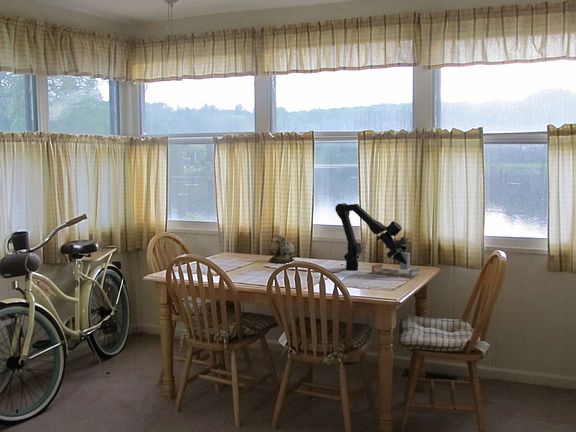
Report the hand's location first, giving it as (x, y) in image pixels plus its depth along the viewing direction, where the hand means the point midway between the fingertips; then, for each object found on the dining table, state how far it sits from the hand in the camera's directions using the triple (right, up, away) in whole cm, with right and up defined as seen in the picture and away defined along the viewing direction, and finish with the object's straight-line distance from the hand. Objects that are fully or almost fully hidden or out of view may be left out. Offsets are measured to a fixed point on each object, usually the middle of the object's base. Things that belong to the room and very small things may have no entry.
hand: (407, 263), depth 326 cm
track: (-6, -7, +4) cm, 10 cm away
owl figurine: (-70, -3, +43) cm, 82 cm away
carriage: (-1, -6, +1) cm, 6 cm away
